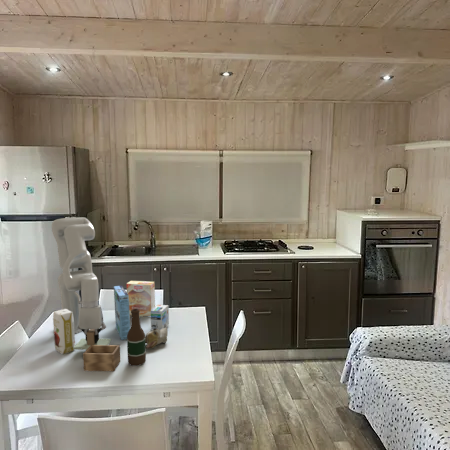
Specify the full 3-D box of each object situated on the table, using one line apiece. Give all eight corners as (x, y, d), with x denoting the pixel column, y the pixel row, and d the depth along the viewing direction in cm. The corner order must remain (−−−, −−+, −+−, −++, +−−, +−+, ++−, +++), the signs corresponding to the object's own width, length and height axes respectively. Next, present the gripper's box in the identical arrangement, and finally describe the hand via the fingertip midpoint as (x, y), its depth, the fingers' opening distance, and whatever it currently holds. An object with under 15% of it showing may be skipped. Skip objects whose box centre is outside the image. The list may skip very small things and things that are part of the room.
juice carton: (69, 345, 198) (67, 307, 195) (77, 350, 191) (74, 311, 189) (53, 350, 192) (51, 311, 190) (61, 355, 186) (58, 315, 184)
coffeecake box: (127, 315, 238) (125, 283, 236) (131, 311, 245) (130, 280, 243) (151, 317, 236) (150, 284, 233) (155, 313, 243) (154, 281, 240)
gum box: (130, 338, 205) (129, 294, 202) (120, 340, 203) (118, 296, 200) (124, 325, 223) (122, 285, 220) (114, 327, 221) (113, 286, 218)
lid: (73, 352, 184) (72, 334, 183) (82, 342, 194) (81, 326, 193) (104, 352, 184) (103, 334, 183) (111, 343, 194) (110, 326, 193)
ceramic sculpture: (172, 327, 197) (145, 336, 188) (173, 343, 198) (146, 354, 189) (161, 321, 205) (134, 330, 196) (162, 337, 207) (135, 347, 197)
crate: (83, 370, 172) (82, 353, 171) (91, 361, 181) (90, 345, 180) (114, 371, 171) (113, 354, 170) (120, 361, 180) (119, 345, 179)
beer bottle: (137, 367, 174) (135, 314, 171) (124, 363, 178) (122, 310, 175) (149, 360, 181) (148, 308, 178) (136, 356, 185) (135, 305, 182)
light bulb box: (162, 330, 215) (162, 311, 214) (150, 330, 217) (150, 310, 215) (169, 323, 226) (168, 304, 224) (157, 322, 227) (157, 304, 226)
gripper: (69, 306, 183) (71, 345, 185) (105, 306, 182) (107, 345, 185) (76, 301, 190) (78, 338, 193) (110, 301, 190) (112, 338, 192)
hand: (92, 341), depth 189 cm, fingers closed on lid, 3 cm apart
